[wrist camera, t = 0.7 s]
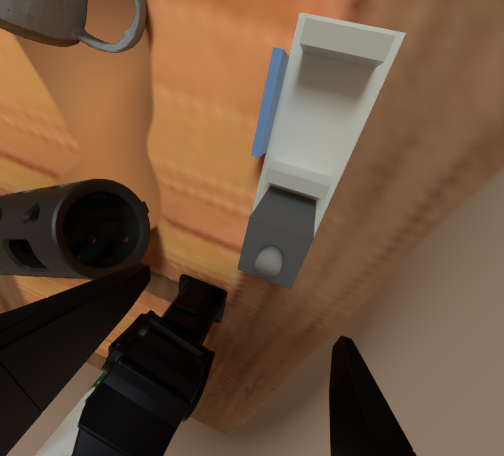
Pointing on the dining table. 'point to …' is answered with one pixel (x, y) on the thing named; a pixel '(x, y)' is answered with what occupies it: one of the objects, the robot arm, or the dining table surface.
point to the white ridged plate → (319, 104)
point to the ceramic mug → (64, 23)
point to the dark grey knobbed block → (278, 236)
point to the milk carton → (67, 429)
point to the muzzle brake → (72, 230)
